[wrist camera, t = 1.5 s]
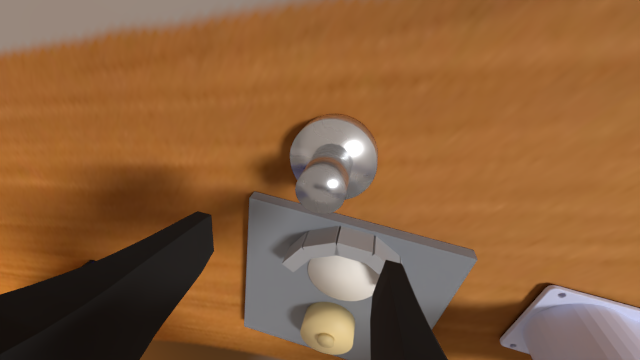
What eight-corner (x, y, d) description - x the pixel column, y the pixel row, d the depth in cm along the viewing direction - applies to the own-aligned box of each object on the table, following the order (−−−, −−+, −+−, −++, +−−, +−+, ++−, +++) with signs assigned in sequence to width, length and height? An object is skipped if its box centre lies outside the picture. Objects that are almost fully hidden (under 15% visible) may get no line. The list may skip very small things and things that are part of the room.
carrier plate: (473, 250, 21) (487, 285, 18) (400, 367, 30) (401, 403, 27) (254, 191, 23) (235, 214, 20) (248, 318, 32) (233, 347, 29)
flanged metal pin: (388, 124, 18) (389, 157, 13) (365, 198, 21) (359, 246, 16) (301, 104, 18) (272, 129, 14) (291, 179, 22) (265, 220, 17)
